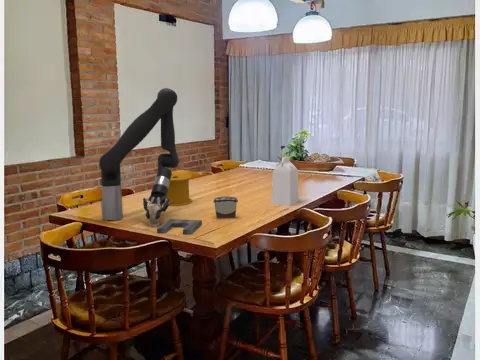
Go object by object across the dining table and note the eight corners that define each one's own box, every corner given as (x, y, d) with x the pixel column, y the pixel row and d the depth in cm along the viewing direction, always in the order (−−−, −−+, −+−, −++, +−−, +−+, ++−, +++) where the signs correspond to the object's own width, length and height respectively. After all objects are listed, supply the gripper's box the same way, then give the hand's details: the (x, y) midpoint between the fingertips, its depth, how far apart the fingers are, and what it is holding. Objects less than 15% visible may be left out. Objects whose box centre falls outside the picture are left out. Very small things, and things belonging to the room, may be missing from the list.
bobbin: (146, 226, 207) (145, 205, 205) (151, 223, 212) (150, 203, 210) (157, 227, 206) (156, 206, 204) (161, 224, 211) (160, 203, 209)
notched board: (157, 232, 197) (156, 228, 197) (169, 222, 213) (169, 218, 212) (191, 234, 194) (191, 230, 194) (202, 224, 209) (201, 220, 209)
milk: (280, 199, 259) (280, 155, 254) (298, 201, 253) (299, 156, 248) (271, 203, 248) (271, 157, 244) (290, 206, 243) (290, 158, 238)
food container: (238, 215, 225) (237, 195, 224) (238, 218, 219) (238, 198, 218) (213, 215, 225) (213, 196, 223) (213, 218, 219) (212, 199, 217)
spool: (186, 206, 245) (185, 180, 242) (155, 205, 249) (154, 179, 246) (195, 199, 262) (195, 174, 260) (167, 198, 266) (166, 174, 263)
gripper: (144, 182, 214) (135, 213, 205) (172, 183, 212) (164, 214, 202) (149, 191, 220) (140, 221, 211) (176, 192, 218) (168, 222, 208)
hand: (152, 218), depth 207 cm, fingers closed on bobbin, 4 cm apart
